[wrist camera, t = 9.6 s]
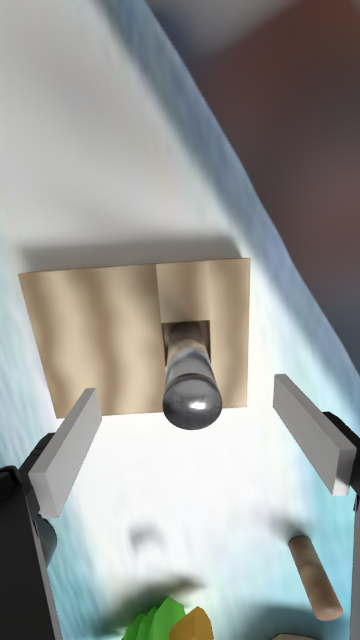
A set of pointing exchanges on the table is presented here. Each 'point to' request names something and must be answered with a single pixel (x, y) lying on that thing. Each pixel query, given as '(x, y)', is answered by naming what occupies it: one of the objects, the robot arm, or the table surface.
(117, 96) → the table surface
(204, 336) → the board
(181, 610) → the decorative tree
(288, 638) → the bowl
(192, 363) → the pin
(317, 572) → the walnut dowel
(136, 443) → the table surface
